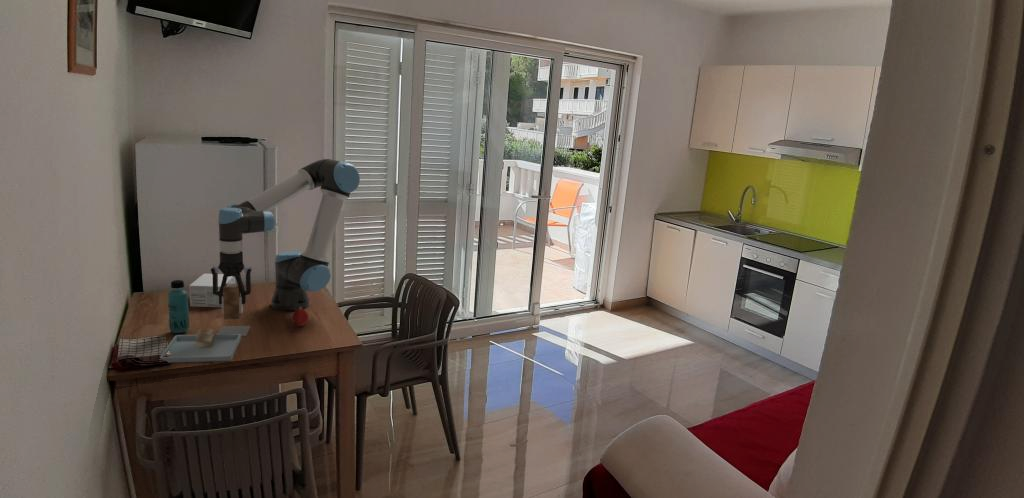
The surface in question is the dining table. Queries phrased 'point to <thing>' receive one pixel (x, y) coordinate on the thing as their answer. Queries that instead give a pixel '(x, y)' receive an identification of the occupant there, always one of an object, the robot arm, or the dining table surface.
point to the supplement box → (206, 291)
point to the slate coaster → (234, 330)
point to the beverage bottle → (178, 308)
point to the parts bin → (202, 349)
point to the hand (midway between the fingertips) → (232, 312)
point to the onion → (300, 317)
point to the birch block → (205, 338)
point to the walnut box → (231, 301)
